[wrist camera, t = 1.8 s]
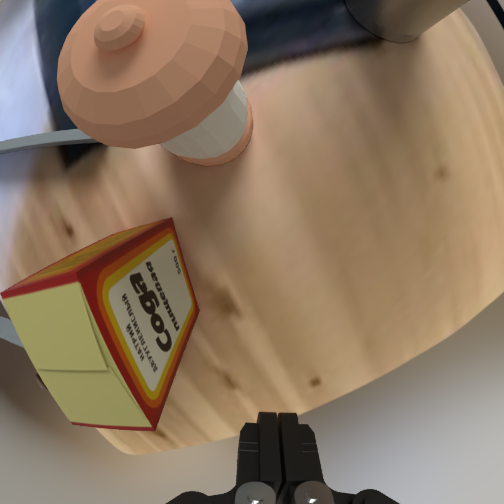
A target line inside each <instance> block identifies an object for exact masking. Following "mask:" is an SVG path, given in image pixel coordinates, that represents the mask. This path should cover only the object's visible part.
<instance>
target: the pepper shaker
mask: <svg viewBox="0 0 504 504" xmlns="http://www.w3.org/2000/svg"><path fill="white" fill-rule="evenodd" d="M247 50H248V46H247V38H246V31H245V23H244V22H243V20H242V19H241V17H240V15H239V14H238V12H237V11H236V9H235V7H234V6H233V4H232V3H231V2H230V0H98V1H96V2H95V3H94V4H93V5H92V6H91V7H90V8H89V9H88V10H87V11H86V12H85V13H84V14H82V15H81V17H80V18H79V20H78V21H77V22H76V24H75V25H74V27H73V28H72V30H71V31H70V33H69V34H68V36H67V38H66V40H65V43H64V45H63V48H62V51H61V53H60V56H59V61H58V72H57V83H58V90H59V94H60V97H61V101H62V104H63V108H64V111H65V112H66V114H67V115H68V116H69V117H70V119H71V120H72V121H73V122H74V124H75V125H76V126H77V127H78V128H79V129H80V130H81V131H82V132H83V133H85V134H86V135H88V136H90V137H91V138H93V139H95V140H97V141H99V142H101V143H103V144H105V145H107V146H114V147H124V148H132V149H136V148H141V147H145V146H150V145H155V144H160V145H161V146H162V147H163V148H164V149H166V150H168V151H170V152H172V153H174V154H175V155H176V156H177V157H179V158H181V159H183V160H185V161H187V162H189V163H194V164H199V165H205V166H215V165H222V164H224V163H226V162H229V161H231V160H233V159H235V158H236V157H237V156H238V155H239V154H240V153H241V152H243V151H244V149H245V147H246V146H247V144H248V142H249V141H250V138H251V134H252V130H253V117H252V108H251V105H250V103H249V101H248V99H247V97H246V94H245V92H244V90H243V88H242V86H241V84H240V82H239V80H238V79H239V78H240V76H241V72H242V68H243V65H244V61H245V57H246V53H247Z"/></svg>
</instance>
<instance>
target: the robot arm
mask: <svg viewBox="0 0 504 504" xmlns="http://www.w3.org/2000/svg"><path fill="white" fill-rule="evenodd" d="M468 1H470V0H345V3H346V6H347V8H348V10H349V11H350V13H351V14H352V16H353V17H354V18H355V19H356V20H357V21H358V22H359V23H360V24H361V25H362V26H363V27H365V28H366V29H367V30H369V31H370V32H372V33H373V34H375V35H377V36H379V37H381V38H384V39H386V40H389V41H393V42H401V43H404V42H410V41H412V40H414V39H416V38H417V37H418V36H420V35H421V34H422V33H424V32H425V31H426V30H428V29H429V28H430V27H432V26H433V25H435V24H436V23H438V22H439V21H440V20H442V19H443V18H445V17H446V16H448V15H449V14H450V13H452V12H453V11H455V10H456V9H458V8H459V7H461V6H462V5H464V4H465V3H467V2H468ZM166 504H399V503H397V502H396V501H394V500H393V499H391V498H389V497H388V496H386V495H384V494H383V493H381V492H379V491H377V490H374V489H366V490H363V491H360V492H359V493H357V494H349V493H341V492H337V491H334V490H332V489H331V488H329V487H328V486H327V485H326V483H325V482H324V479H323V474H322V469H321V464H320V459H319V454H318V449H317V445H316V439H315V434H314V432H313V431H312V429H311V428H310V427H309V425H308V424H298V417H297V414H296V413H279V414H278V417H277V414H276V412H259V413H258V418H257V423H245V425H244V426H243V428H242V429H241V431H240V438H239V447H238V459H237V476H236V486H235V487H234V488H233V489H232V490H231V491H229V492H227V493H224V494H219V495H213V496H207V495H205V494H203V493H200V492H196V491H189V492H185V493H182V494H180V495H179V496H177V497H175V498H174V499H172V500H171V501H169V502H168V503H166Z"/></svg>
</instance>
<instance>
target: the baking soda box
mask: <svg viewBox="0 0 504 504" xmlns="http://www.w3.org/2000/svg"><path fill="white" fill-rule="evenodd" d="M0 294H1V296H2V299H3V301H4V304H5V306H6V309H7V311H8V314H9V316H10V318H11V321H12V323H13V325H14V327H15V330H16V332H17V334H18V336H19V338H20V340H21V342H22V344H23V346H24V348H25V350H26V352H27V354H28V356H29V357H30V359H31V361H32V363H33V365H34V367H35V368H36V370H37V372H38V374H39V375H40V377H41V379H42V380H43V382H44V384H45V385H46V387H47V388H48V390H49V391H50V393H51V395H52V396H53V397H54V399H55V400H56V402H57V404H58V405H59V407H60V408H61V409H62V411H63V412H64V414H65V415H66V416H67V418H68V419H69V421H70V422H71V423H72V424H73V425H80V426H88V427H97V428H107V429H119V430H136V431H155V430H156V427H157V424H158V422H159V419H160V416H161V413H162V410H163V408H164V405H165V402H166V399H167V396H168V394H169V391H170V388H171V385H172V383H173V380H174V377H175V375H176V372H177V369H178V366H179V364H180V361H181V358H182V356H183V353H184V350H185V348H186V345H187V342H188V340H189V337H190V335H191V332H192V329H193V327H194V324H195V322H196V319H197V316H198V314H199V311H200V310H199V307H198V304H197V301H196V298H195V295H194V292H193V288H192V285H191V282H190V279H189V275H188V272H187V269H186V265H185V262H184V259H183V255H182V252H181V248H180V245H179V241H178V238H177V234H176V230H175V227H174V223H173V219H172V218H168V219H164V220H161V221H157V222H153V223H150V224H146V225H143V226H139V227H136V228H132V229H129V230H125V231H122V232H119V233H115V234H112V235H110V236H108V237H106V238H104V239H102V240H99V241H97V242H95V243H93V244H91V245H89V246H87V247H85V248H83V249H81V250H79V251H77V252H75V253H73V254H71V255H69V256H67V257H65V258H63V259H61V260H59V261H57V262H55V263H53V264H51V265H49V266H48V267H46V268H44V269H42V270H40V271H38V272H36V273H35V274H33V275H31V276H29V277H27V278H25V279H24V280H22V281H20V282H18V283H17V284H15V285H13V286H11V287H10V288H8V289H6V290H4V291H3V292H1V293H0Z"/></svg>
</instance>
